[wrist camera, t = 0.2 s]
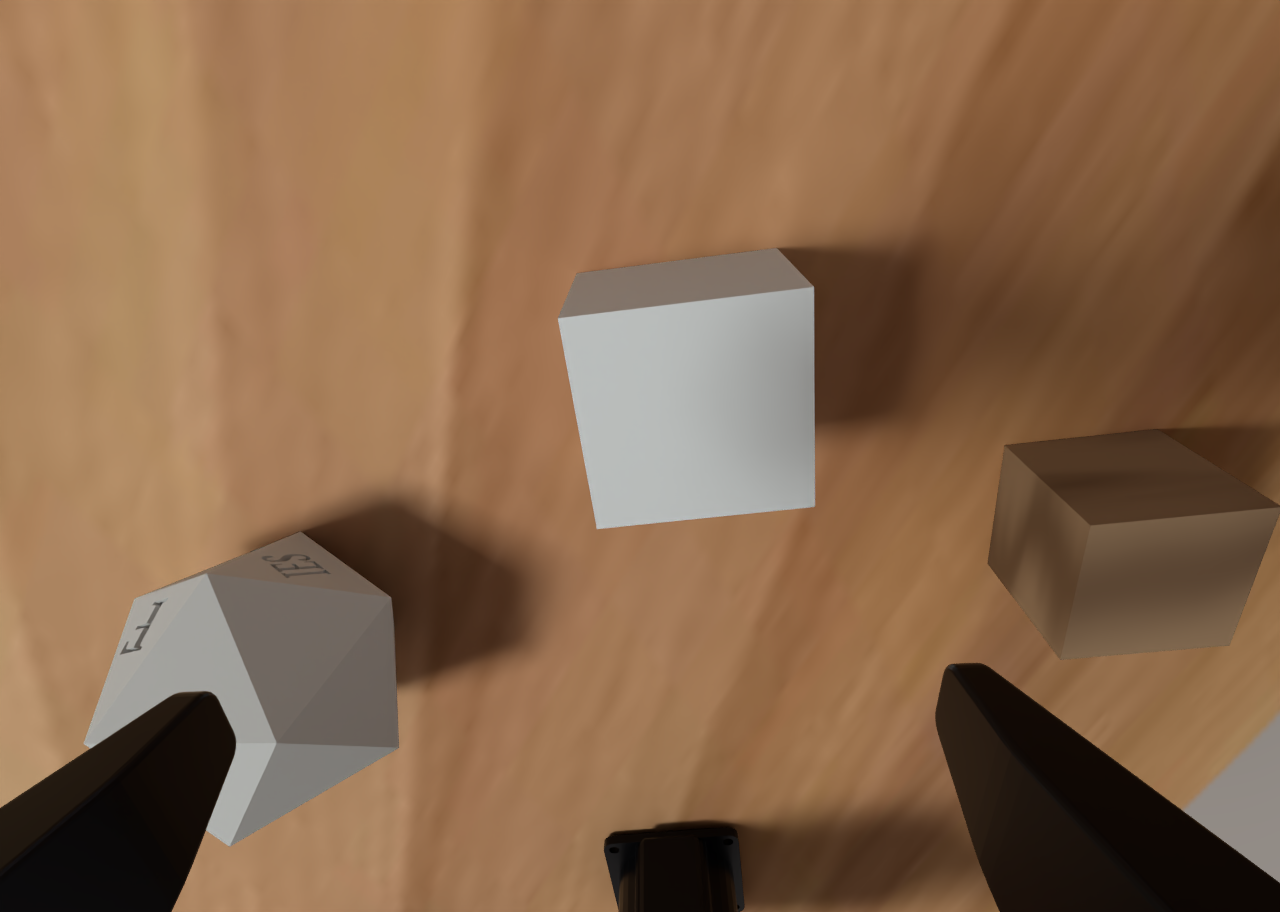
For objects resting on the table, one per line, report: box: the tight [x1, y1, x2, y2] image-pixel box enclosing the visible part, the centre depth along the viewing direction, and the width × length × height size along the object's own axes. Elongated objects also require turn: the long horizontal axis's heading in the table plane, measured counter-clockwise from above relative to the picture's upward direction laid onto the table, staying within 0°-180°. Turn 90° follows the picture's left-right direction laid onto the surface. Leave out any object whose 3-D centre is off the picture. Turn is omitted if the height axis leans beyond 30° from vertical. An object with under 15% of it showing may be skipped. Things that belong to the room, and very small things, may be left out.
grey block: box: [558, 248, 815, 529], centre depth 19 cm, size 6×6×5 cm
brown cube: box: [988, 429, 1280, 660], centre depth 21 cm, size 5×5×5 cm
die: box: [84, 532, 399, 847], centre depth 22 cm, size 8×9×10 cm
